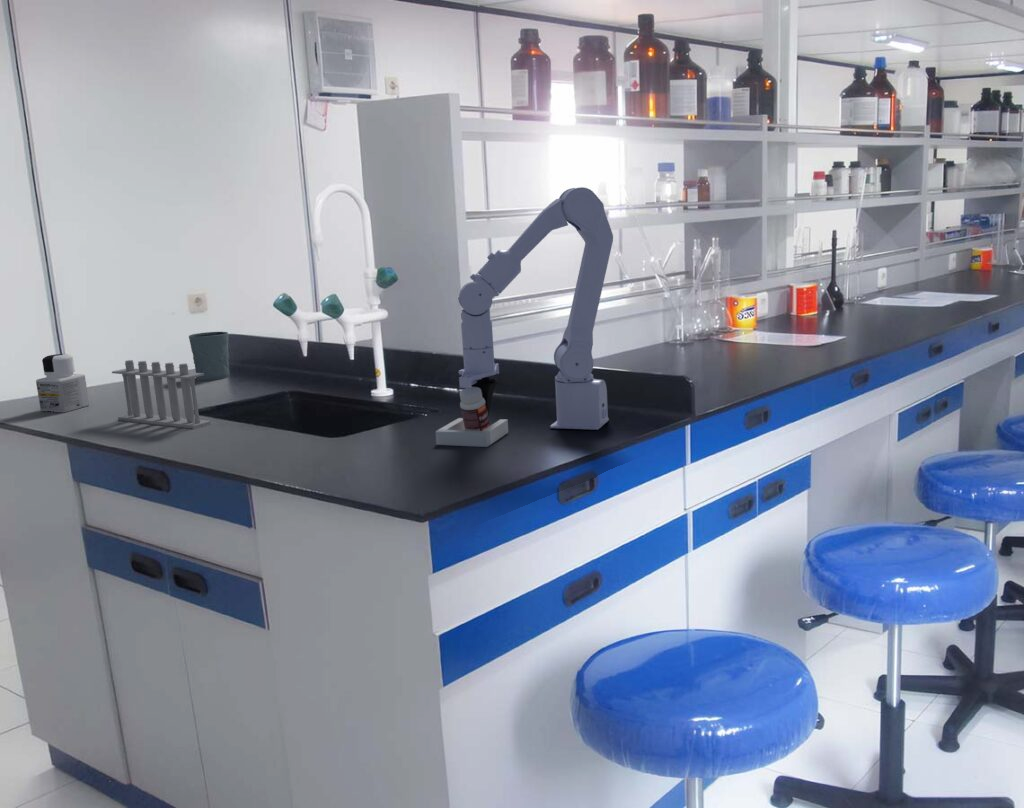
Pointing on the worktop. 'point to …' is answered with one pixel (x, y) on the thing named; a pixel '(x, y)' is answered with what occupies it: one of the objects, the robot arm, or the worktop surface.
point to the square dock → (470, 434)
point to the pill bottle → (474, 409)
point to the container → (61, 385)
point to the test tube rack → (161, 395)
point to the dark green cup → (210, 355)
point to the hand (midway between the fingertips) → (482, 418)
